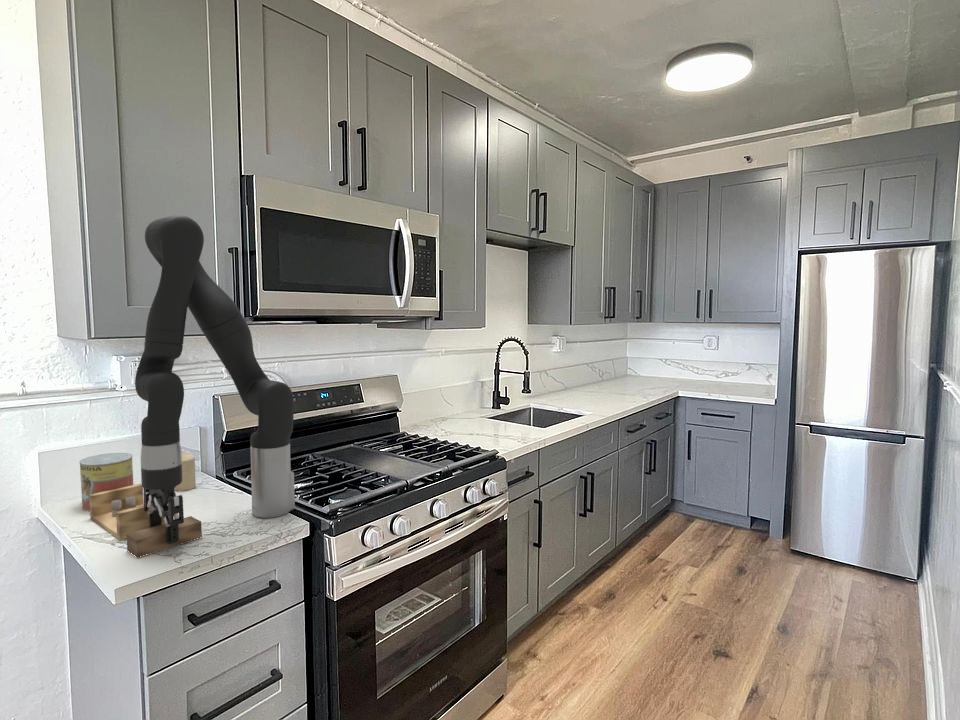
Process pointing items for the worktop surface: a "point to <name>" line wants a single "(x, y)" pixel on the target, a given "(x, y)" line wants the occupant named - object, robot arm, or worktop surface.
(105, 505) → the peg frame
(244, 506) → the worktop surface
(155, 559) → the worktop surface
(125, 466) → the canned food
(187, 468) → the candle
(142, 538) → the brown wooden block
